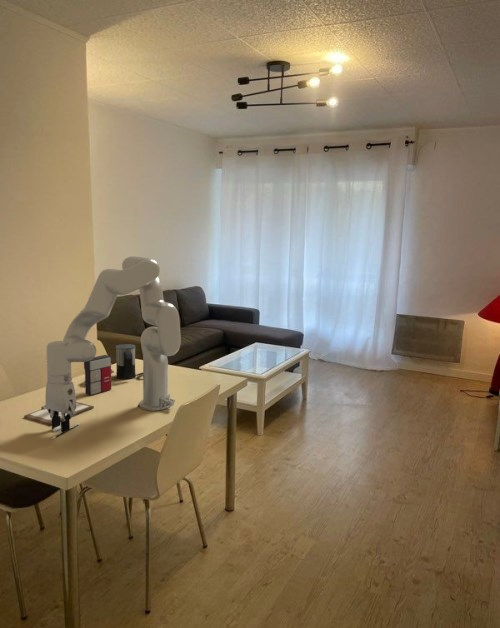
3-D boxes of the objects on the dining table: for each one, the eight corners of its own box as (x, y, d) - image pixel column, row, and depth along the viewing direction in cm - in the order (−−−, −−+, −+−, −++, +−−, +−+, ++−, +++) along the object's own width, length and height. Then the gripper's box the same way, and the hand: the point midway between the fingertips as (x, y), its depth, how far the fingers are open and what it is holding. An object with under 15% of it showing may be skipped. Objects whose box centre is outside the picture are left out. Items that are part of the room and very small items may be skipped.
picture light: (52, 439, 157) (52, 433, 156) (42, 437, 158) (41, 431, 158) (81, 424, 170) (80, 418, 169) (70, 422, 171) (70, 417, 171)
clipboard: (93, 408, 185) (93, 403, 185) (51, 425, 167) (51, 420, 167) (67, 401, 191) (67, 397, 191) (24, 417, 174) (24, 413, 173)
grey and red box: (90, 396, 198) (89, 361, 196) (84, 394, 201) (83, 359, 198) (112, 390, 207) (112, 356, 204) (106, 387, 209) (105, 354, 207)
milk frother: (112, 375, 227) (111, 345, 224) (141, 370, 237) (141, 341, 235) (126, 383, 216) (126, 351, 214) (157, 377, 227) (157, 346, 224)
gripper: (86, 379, 160) (87, 431, 163) (51, 371, 168) (52, 421, 171) (68, 385, 154) (69, 439, 157) (32, 376, 161) (34, 428, 164)
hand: (60, 429), depth 164 cm, fingers closed on picture light, 3 cm apart
